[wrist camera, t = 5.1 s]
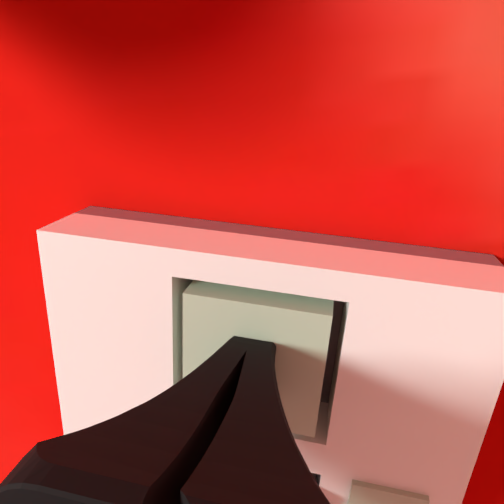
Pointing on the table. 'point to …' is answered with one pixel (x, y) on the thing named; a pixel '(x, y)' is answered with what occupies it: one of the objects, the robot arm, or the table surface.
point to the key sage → (264, 338)
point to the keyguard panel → (339, 349)
